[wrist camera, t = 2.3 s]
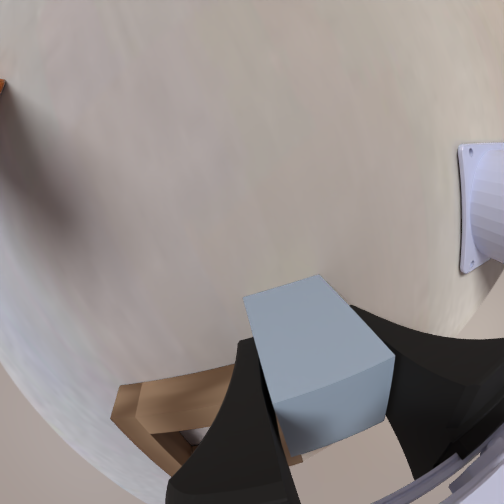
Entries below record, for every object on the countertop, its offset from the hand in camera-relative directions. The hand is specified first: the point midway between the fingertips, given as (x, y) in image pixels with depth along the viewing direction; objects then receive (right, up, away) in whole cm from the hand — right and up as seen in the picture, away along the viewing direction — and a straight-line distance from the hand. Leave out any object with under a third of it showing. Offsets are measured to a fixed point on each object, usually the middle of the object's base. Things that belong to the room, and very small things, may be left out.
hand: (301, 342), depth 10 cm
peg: (0, +1, +2) cm, 2 cm away
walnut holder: (-4, -6, +3) cm, 8 cm away
